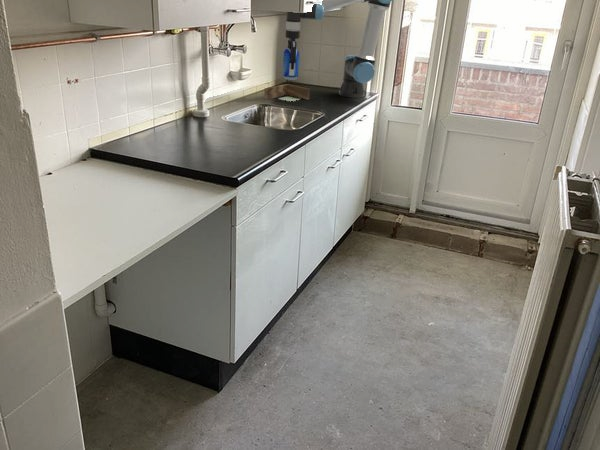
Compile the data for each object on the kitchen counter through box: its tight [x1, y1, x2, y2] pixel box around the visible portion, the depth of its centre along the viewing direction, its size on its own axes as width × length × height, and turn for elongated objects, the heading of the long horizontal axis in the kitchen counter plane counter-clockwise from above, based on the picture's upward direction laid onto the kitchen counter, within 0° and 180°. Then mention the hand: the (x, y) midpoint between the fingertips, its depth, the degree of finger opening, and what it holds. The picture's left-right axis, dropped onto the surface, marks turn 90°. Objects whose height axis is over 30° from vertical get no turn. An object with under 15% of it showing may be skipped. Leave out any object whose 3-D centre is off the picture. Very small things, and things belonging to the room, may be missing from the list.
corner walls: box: [263, 83, 311, 101], centre depth 296 cm, size 20×16×6 cm
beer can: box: [282, 47, 300, 81], centre depth 290 cm, size 8×8×16 cm
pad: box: [277, 95, 301, 103], centre depth 298 cm, size 9×9×1 cm
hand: (290, 73), depth 292 cm, fingers closed on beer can, 8 cm apart
